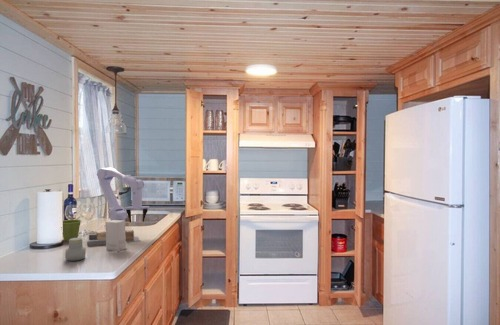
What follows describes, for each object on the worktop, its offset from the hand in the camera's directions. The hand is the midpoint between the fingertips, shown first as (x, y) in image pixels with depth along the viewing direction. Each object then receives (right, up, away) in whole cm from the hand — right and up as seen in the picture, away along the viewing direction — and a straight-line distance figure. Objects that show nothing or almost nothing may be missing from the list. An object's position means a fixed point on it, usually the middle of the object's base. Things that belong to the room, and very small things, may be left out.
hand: (136, 221), depth 226 cm
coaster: (-2, -10, -7) cm, 12 cm away
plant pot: (-36, -10, -9) cm, 39 cm away
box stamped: (-2, -9, -7) cm, 12 cm away
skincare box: (-2, -11, -29) cm, 31 cm away
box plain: (-18, -9, -10) cm, 22 cm away
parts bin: (-16, -10, -13) cm, 23 cm away
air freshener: (-15, -11, -48) cm, 51 cm away
